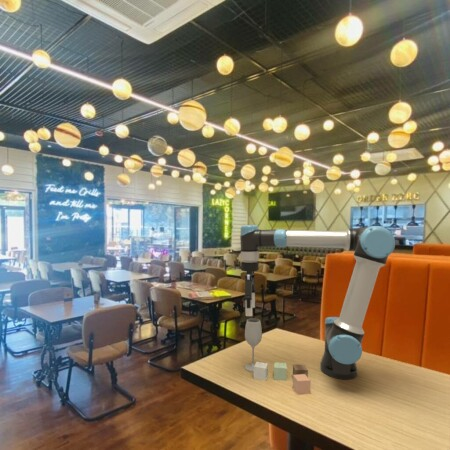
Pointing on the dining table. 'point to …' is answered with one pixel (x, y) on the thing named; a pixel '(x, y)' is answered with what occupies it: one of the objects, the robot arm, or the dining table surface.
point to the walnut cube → (299, 369)
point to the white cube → (260, 371)
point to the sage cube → (280, 371)
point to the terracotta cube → (301, 384)
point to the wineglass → (252, 337)
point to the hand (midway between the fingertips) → (250, 311)
